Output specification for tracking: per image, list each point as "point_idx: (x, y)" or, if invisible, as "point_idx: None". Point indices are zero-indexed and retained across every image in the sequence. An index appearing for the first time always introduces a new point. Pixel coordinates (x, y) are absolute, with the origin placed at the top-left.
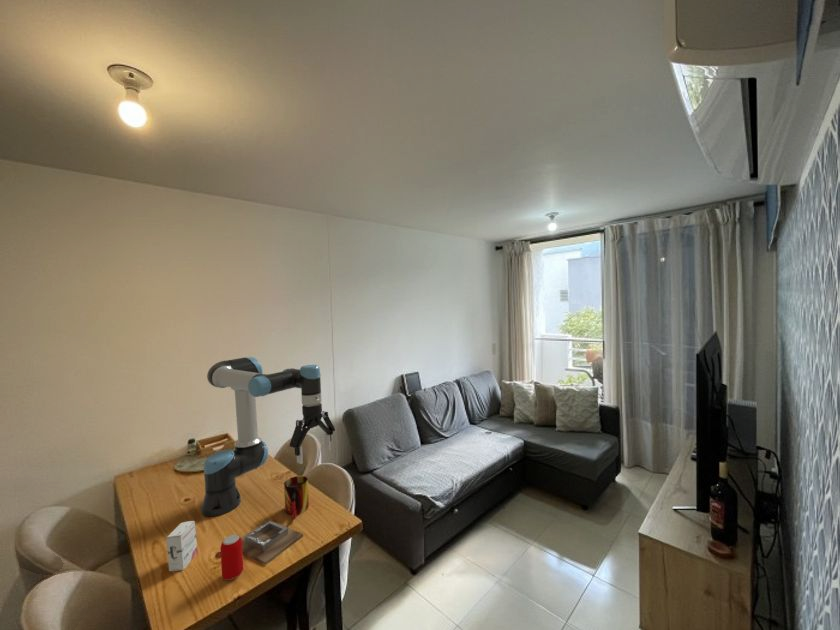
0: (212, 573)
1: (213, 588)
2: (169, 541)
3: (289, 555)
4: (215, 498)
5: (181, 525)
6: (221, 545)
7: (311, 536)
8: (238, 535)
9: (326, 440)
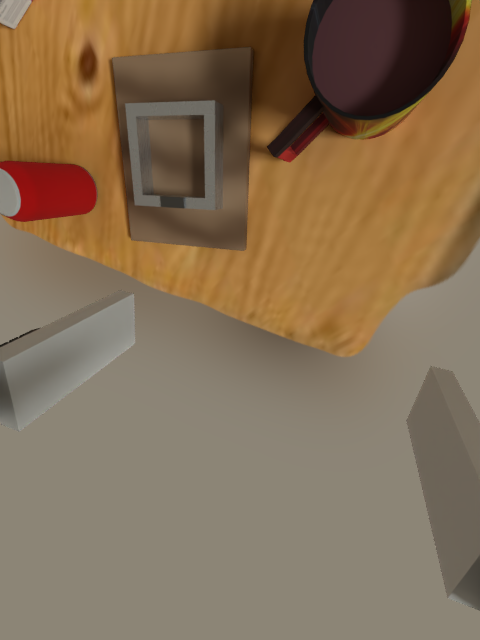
0: (57, 131)
1: None
2: None
3: (181, 269)
4: None
5: None
6: None
7: (256, 273)
8: (20, 196)
9: (446, 474)
